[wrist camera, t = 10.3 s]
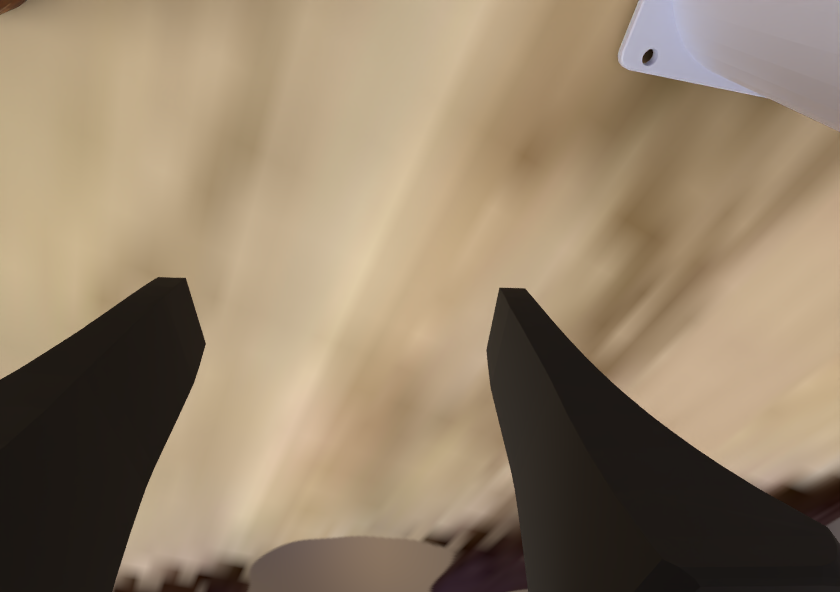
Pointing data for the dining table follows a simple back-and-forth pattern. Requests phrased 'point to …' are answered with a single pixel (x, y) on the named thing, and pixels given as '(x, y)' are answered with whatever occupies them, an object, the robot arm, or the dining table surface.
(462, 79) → the dining table surface
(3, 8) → the food container
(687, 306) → the dining table surface
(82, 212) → the dining table surface
